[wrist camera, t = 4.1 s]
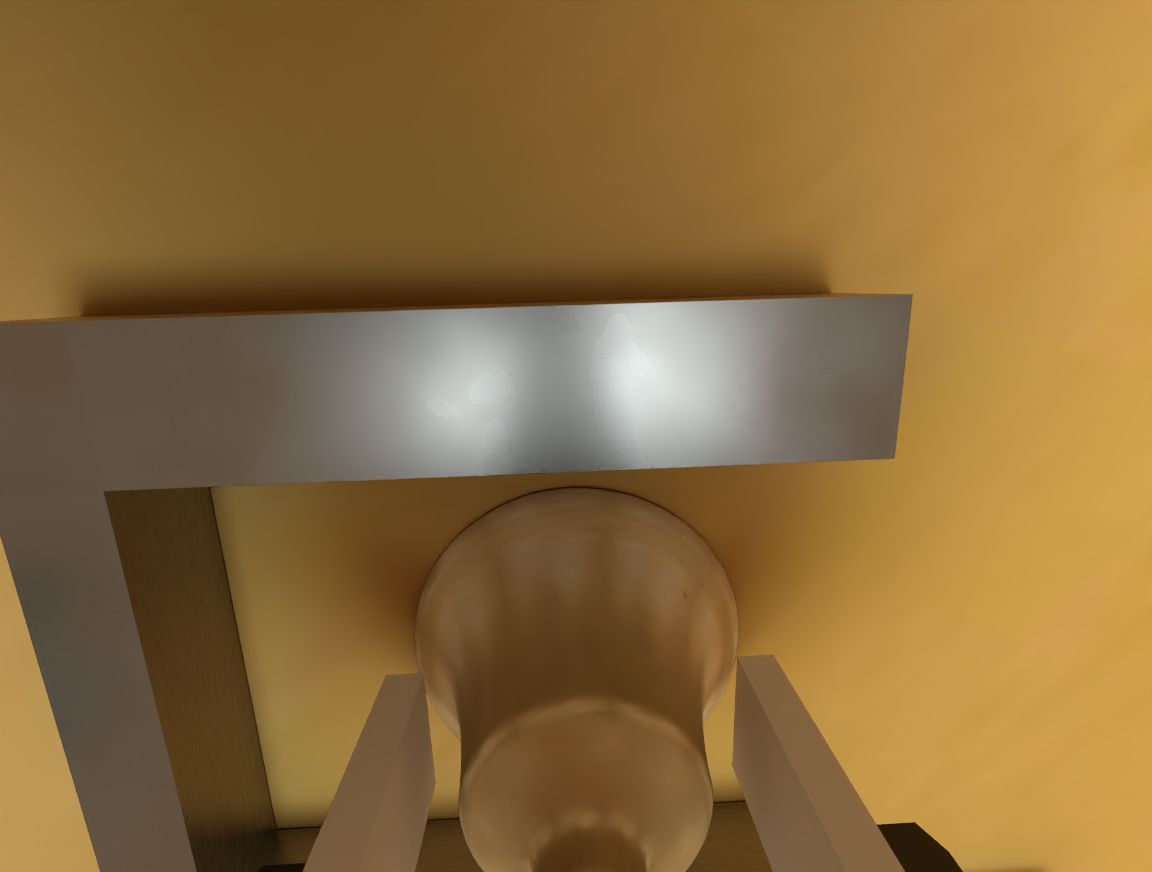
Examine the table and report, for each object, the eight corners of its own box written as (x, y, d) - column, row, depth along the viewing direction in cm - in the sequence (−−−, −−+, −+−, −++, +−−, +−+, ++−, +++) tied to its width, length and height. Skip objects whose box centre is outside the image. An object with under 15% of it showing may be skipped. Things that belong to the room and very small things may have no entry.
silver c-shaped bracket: (80, 316, 13) (-62, 325, 10) (831, 293, 13) (912, 294, 10) (222, 917, 17) (153, 1049, 14) (786, 880, 17) (834, 999, 14)
